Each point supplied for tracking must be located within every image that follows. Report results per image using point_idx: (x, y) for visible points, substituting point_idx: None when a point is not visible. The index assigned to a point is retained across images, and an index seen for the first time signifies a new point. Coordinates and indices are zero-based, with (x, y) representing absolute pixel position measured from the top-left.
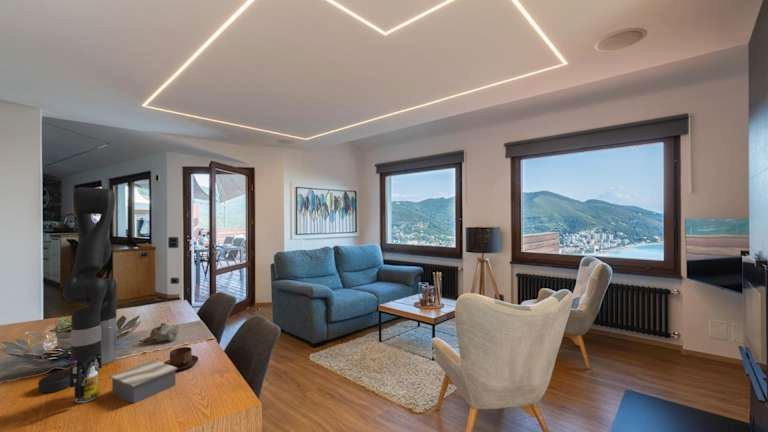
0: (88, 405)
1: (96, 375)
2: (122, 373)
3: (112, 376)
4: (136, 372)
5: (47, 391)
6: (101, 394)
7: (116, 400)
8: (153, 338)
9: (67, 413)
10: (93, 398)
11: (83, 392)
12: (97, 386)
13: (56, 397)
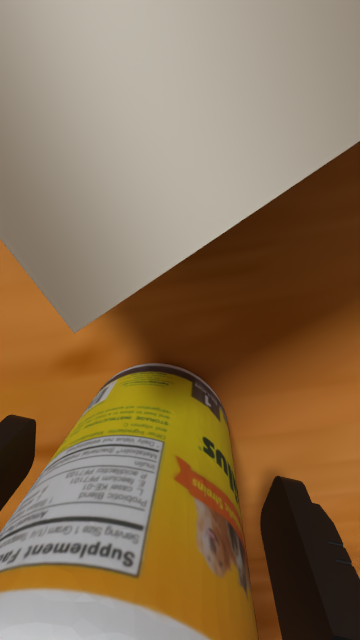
0: (283, 391)
1: (137, 605)
2: (26, 49)
3: (128, 274)
4: None
5: None
6: (121, 340)
7: (329, 196)
8: None
9: (331, 482)
10: (205, 382)
11: (316, 522)
12: (148, 412)
13: None
